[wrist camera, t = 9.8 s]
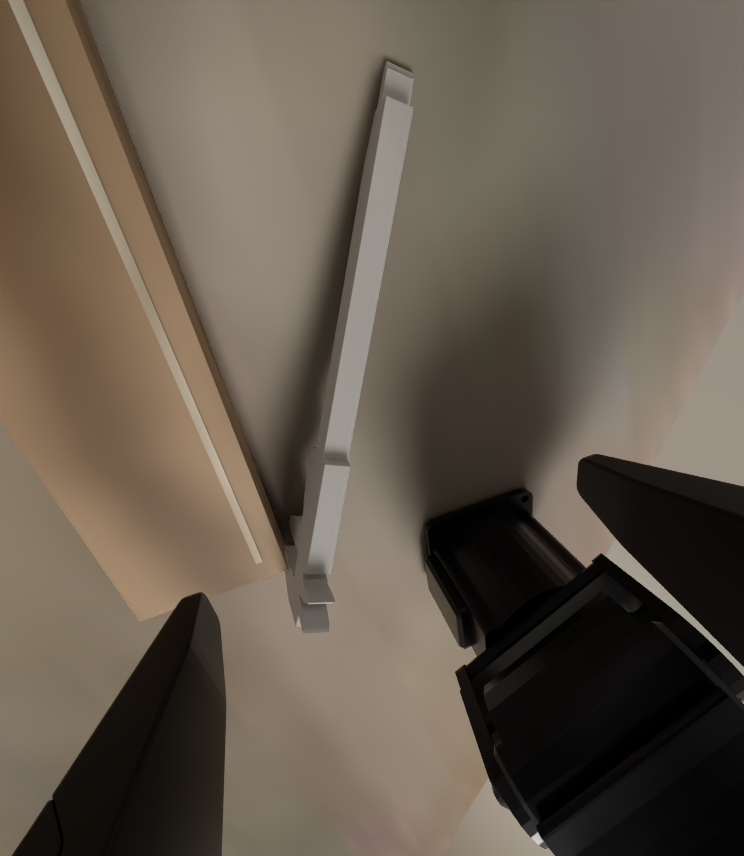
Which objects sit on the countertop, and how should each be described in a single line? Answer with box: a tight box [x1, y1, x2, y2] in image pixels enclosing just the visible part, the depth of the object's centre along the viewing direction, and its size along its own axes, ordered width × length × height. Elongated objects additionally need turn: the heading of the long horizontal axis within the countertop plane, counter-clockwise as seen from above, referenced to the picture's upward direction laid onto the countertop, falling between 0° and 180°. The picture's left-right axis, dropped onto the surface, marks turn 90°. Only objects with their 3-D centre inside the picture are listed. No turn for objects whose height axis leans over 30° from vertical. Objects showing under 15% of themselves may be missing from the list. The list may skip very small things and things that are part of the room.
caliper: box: [284, 61, 414, 633], centre depth 15 cm, size 20×1×6 cm, turn 166°
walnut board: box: [0, 0, 288, 622], centre depth 13 cm, size 6×24×2 cm, turn 11°
